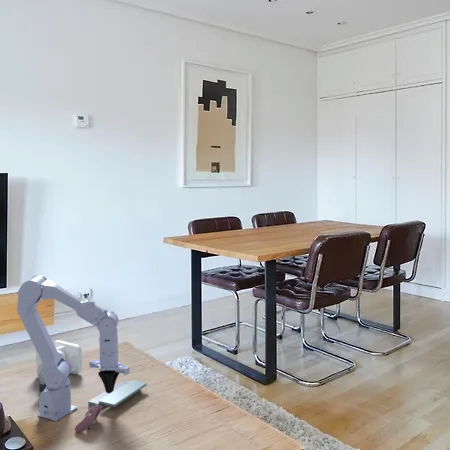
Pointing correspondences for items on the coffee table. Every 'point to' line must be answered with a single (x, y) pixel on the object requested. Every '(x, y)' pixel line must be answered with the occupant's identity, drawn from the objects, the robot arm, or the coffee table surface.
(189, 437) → the coffee table surface
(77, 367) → the cable organizer
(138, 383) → the panel
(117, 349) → the robot arm
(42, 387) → the watch
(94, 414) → the video game controller
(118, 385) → the rail
